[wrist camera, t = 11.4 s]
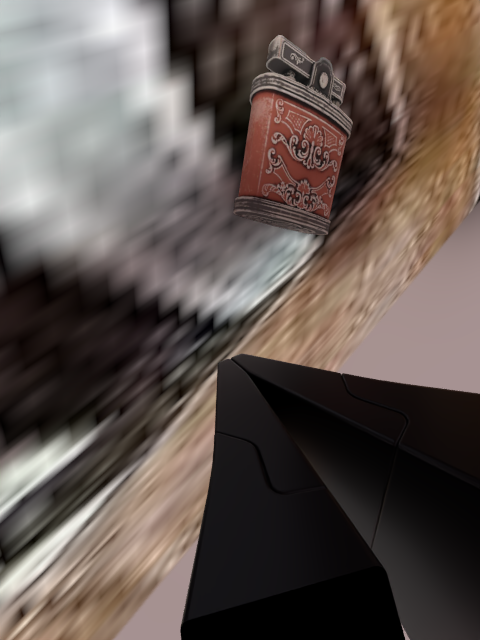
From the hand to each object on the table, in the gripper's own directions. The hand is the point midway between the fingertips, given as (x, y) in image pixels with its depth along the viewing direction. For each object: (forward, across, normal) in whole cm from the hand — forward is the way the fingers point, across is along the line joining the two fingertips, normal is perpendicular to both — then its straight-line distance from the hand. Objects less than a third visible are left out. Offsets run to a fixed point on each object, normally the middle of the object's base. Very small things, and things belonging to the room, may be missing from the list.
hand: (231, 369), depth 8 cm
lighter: (+11, +9, +1) cm, 14 cm away
